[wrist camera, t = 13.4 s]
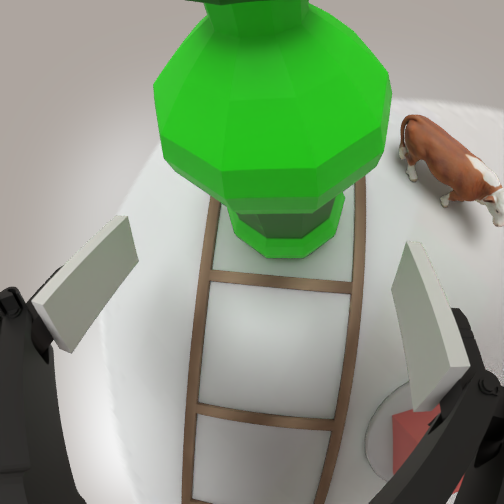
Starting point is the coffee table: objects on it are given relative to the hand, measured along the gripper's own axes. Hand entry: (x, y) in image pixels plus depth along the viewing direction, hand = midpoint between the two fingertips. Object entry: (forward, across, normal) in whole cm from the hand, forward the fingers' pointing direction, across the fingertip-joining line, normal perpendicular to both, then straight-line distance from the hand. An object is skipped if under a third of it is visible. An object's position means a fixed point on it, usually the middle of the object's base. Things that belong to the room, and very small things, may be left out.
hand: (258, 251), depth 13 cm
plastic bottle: (+15, 0, -6) cm, 16 cm away
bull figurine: (+18, +16, -2) cm, 24 cm away
